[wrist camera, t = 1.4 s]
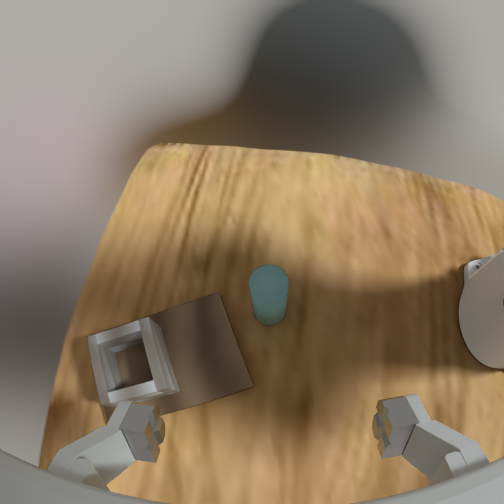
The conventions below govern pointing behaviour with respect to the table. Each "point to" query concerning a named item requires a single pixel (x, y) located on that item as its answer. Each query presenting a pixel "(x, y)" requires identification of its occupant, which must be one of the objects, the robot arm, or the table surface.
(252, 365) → the table surface
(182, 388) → the walnut socket board
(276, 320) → the teal rounded oblong piece
